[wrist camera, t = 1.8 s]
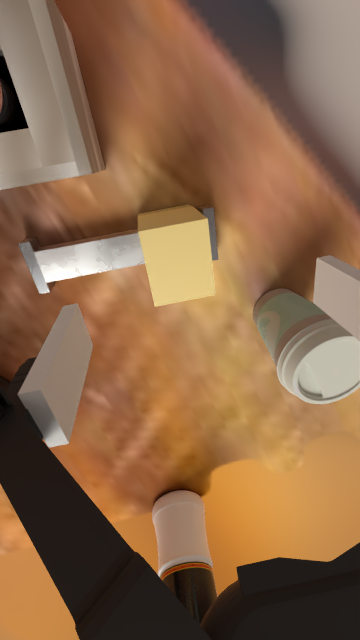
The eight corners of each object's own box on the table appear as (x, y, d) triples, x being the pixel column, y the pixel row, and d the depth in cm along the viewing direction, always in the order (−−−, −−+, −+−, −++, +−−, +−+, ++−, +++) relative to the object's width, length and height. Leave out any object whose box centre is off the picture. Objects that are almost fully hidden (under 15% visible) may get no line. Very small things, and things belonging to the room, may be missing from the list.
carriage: (150, 271, 31) (154, 306, 23) (137, 212, 28) (138, 231, 20) (196, 262, 31) (215, 294, 23) (188, 203, 28) (207, 218, 20)
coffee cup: (245, 279, 33) (296, 334, 22) (316, 275, 34) (396, 326, 23) (238, 342, 37) (279, 413, 27) (301, 337, 38) (364, 403, 28)
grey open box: (4, 187, 25) (-55, 199, 18) (-52, 53, 21) (-163, -10, 13) (105, 169, 26) (92, 173, 18) (71, 34, 21) (34, -39, 14)
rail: (45, 286, 30) (39, 294, 28) (25, 238, 28) (18, 243, 26) (213, 253, 31) (218, 259, 29) (208, 204, 28) (213, 207, 27)
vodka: (202, 513, 55) (261, 827, 29) (153, 520, 54) (170, 853, 28) (203, 483, 51) (274, 825, 25) (150, 491, 50) (166, 855, 24)
